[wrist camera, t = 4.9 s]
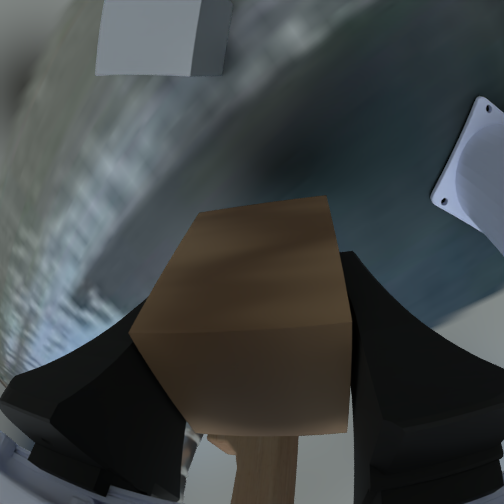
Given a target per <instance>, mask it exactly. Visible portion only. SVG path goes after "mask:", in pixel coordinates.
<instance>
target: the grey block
mask: <svg viewBox="0 0 504 504" xmlns="http://www.w3.org/2000/svg"><path fill="white" fill-rule="evenodd" d="M232 11H233V4H232V3H231V1H230V0H104V6H103V12H102V18H101V25H100V32H99V40H98V49H97V59H96V70H95V76H99V75H171V76H189V77H191V76H222V73H223V66H224V59H225V53H226V47H227V40H228V34H229V28H230V22H231V16H232Z"/></svg>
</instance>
